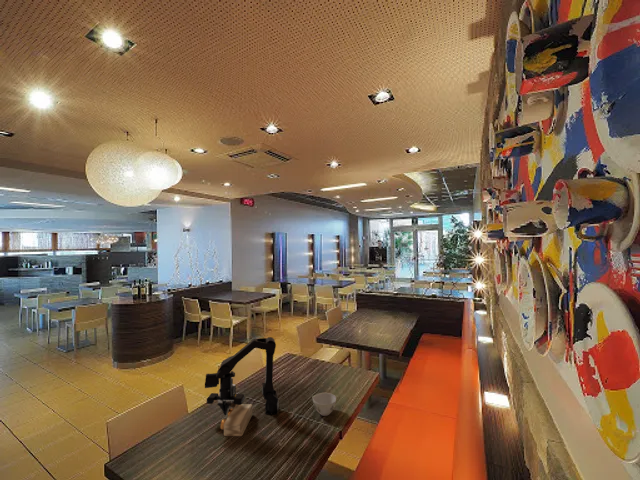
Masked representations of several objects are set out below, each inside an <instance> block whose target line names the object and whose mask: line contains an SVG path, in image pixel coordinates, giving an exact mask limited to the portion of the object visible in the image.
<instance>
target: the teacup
mask: <svg viewBox="0 0 640 480" xmlns="http://www.w3.org/2000/svg"><path fill="white" fill-rule="evenodd" d="M311 399H312V400H311V401H312V402H313V406H314V409H315V410H316V412H318V414H319V415H321V416H324V417H327V416H329V415H330V414H331V413H332V412H333V411H334V409H335V406H336V402H337V397H336V395H335V394H332V393H331V392H320V393H316V394H315V395H312V397H311Z"/></svg>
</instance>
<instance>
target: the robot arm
mask: <svg viewBox="0 0 640 480" xmlns="http://www.w3.org/2000/svg"><path fill="white" fill-rule="evenodd" d="M276 347H277V344H276V340H275V338H273V337H270V336H269V337H261V338H253V339H251V340H250V341H249V342H248V343H247V344H246V345H244V346H243V347H242V348H240V349H239V350H238V351H237V352H236V353H234V355H231V356H229V357H227V358H225V359H224V360H222V361H221V362H220V367H219V368H218V370H217V372H215V373H214V372H213V373H206V374H205V379H204V380H205V381H204V389H210V388H217V387H218V385H219V389H220V390H218V392H211V393H210V394H209V395H208V396H207V398H206V404H207V405H212V404H214V402H215V401H217V405H216V406H218V407H219V408H220V409H221V411H222V413H223V415H224V416H228V411H229V409H230V406H232V404H234V405H241V404H244V401H245V400H246V398H245V397H246V395H245V394H244V393H236V396H235V397H234V396H232V395H233V392H235V387H236V388H237V385H236V386H233V385H232V378H235V377H236V372H234V371H233V370H234V368H235V367H236V365H237V364H238V363H240V361H241V360H242V359H244V358H245V357H246V356H247V355H248V354H249V353H251V352H252V351H253V350H255V349H259V350H264V351H265V356H266V357H265V378H264V379H265V380H264V382H261V385H262V388H261V395H262V396H263V399H264V400H265V403H264V406H265V407H264V411H265V413H264V414H265V415H278V413H279V411H280V410H279V409H280V406H279V397H278V392H277V391H276V390H275V389H274V383H273V377H274V376H273V374H274V373H273V372H274V371H273V370H274V354H275V352H276ZM219 392H220V396H219ZM226 401H227V402H226Z"/></svg>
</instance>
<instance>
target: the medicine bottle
mask: <svg viewBox="0 0 640 480" xmlns="http://www.w3.org/2000/svg"><path fill="white" fill-rule="evenodd" d="M233 380H234V377H232V385H233V386H236V387H235V392H233V395H232V396H234V397H236V395H237V385H236V384H234V382H233ZM219 390H220V388H219ZM219 390H218V396H220V392H219ZM226 403H227V401H226Z"/></svg>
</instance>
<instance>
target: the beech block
mask: <svg viewBox="0 0 640 480" xmlns="http://www.w3.org/2000/svg"><path fill="white" fill-rule="evenodd" d="M234 405H235V404H234ZM232 409H233V410H232V412H231V413H230V415H229V416H228V415H227V418H226V419H227V420H226V421H225V423H224V430H223V436H225V437H242V436H243V434H244V432H245V431H246V429H247V426H248V425H249V422H250V420H251V418H252V417H253V404H251V403H250V404H249V403H247V404H246V403H242V404H241V405H235V406H234V407H233V408H232Z"/></svg>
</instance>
